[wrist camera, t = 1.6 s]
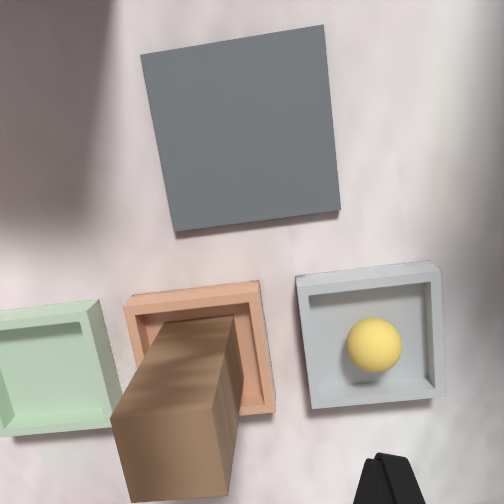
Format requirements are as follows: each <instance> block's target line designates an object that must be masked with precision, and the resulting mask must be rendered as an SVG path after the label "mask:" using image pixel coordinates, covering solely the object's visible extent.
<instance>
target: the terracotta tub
mask: <svg viewBox="0 0 504 504" xmlns="http://www.w3.org/2000/svg"><path fill="white" fill-rule="evenodd" d="M123 309H124V314H125V318H126V322H127V326H128V331H129V335H130V339H131V344H132V348H133V352H134V357H135V361H136V365H137V369H138V367H139V366H140V364H141V362H142V360H143V359H144V357H145V355H146V353H147V352H148V350H149V348H150V346H151V344H152V343H153V341H154V339H155V337H156V336H157V334H158V332H159V330H160V329H161V327H162V325H163V323H164V322H170V321H179V320H188V319H197V318H206V317H215V316H224V315H233V314H234V320H235V326H236V332H237V338H238V344H239V350H240V356H241V362H242V368H243V374H244V382H243V389H242V396H241V404H240V411H239V416H242V415H253V414H264V413H275V412H276V392H275V386H274V379H273V372H272V365H271V358H270V352H269V345H268V338H267V331H266V324H265V318H264V311H263V304H262V297H261V290H260V284H259V280H257V281H249V282H240V283H232V284H223V285H215V286H206V287H198V288H189V289H181V290H172V291H164V292H155V293H147V294H138V295H133V296H132V297H131V298H130V299H129V300H128V302H127V303H126V304H125V305H124V306H123Z"/></svg>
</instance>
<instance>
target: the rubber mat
mask: <svg viewBox="0 0 504 504" xmlns="http://www.w3.org/2000/svg"><path fill="white" fill-rule="evenodd" d="M140 57H141V62H142V67H143V72H144V77H145V83H146V88H147V93H148V98H149V104H150V109H151V114H152V119H153V124H154V130H155V135H156V140H157V145H158V150H159V156H160V161H161V166H162V171H163V176H164V182H165V187H166V192H167V197H168V202H169V208H170V213H171V218H172V223H173V228H174V232H176V231H183V230H191V229H199V228H207V227H214V226H222V225H230V224H238V223H245V222H253V221H261V220H269V219H276V218H284V217H292V216H300V215H307V214H315V213H323V212H331V211H338V210H341V204H340V194H339V183H338V172H337V162H336V151H335V140H334V130H333V119H332V109H331V98H330V87H329V77H328V66H327V55H326V45H325V34H324V25H318V26H312V27H306V28H300V29H294V30H287V31H281V32H275V33H269V34H263V35H257V36H251V37H245V38H239V39H233V40H227V41H221V42H215V43H209V44H203V45H197V46H191V47H185V48H179V49H173V50H167V51H161V52H155V53H149V54H143V55H140Z"/></svg>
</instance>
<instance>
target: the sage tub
mask: <svg viewBox="0 0 504 504" xmlns="http://www.w3.org/2000/svg"><path fill="white" fill-rule="evenodd" d="M121 397H122V392H121V388H120V384H119V380H118V376H117V371H116V367H115V363H114V359H113V355H112V351H111V347H110V343H109V339H108V335H107V331H106V327H105V323H104V318H103V314H102V310H101V306H100V302H99V299H95V300H87V301H78V302H70V303H61V304H53V305H44V306H36V307H27V308H19V309H10V310H2V311H0V437H10V436H21V435H32V434H43V433H54V432H65V431H76V430H87V429H98V428H109V427H112V426H111V422H110V417H111V415H112V413H113V411H114V410H115V408H116V406H117V404H118V403H119V401H120V399H121Z"/></svg>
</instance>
